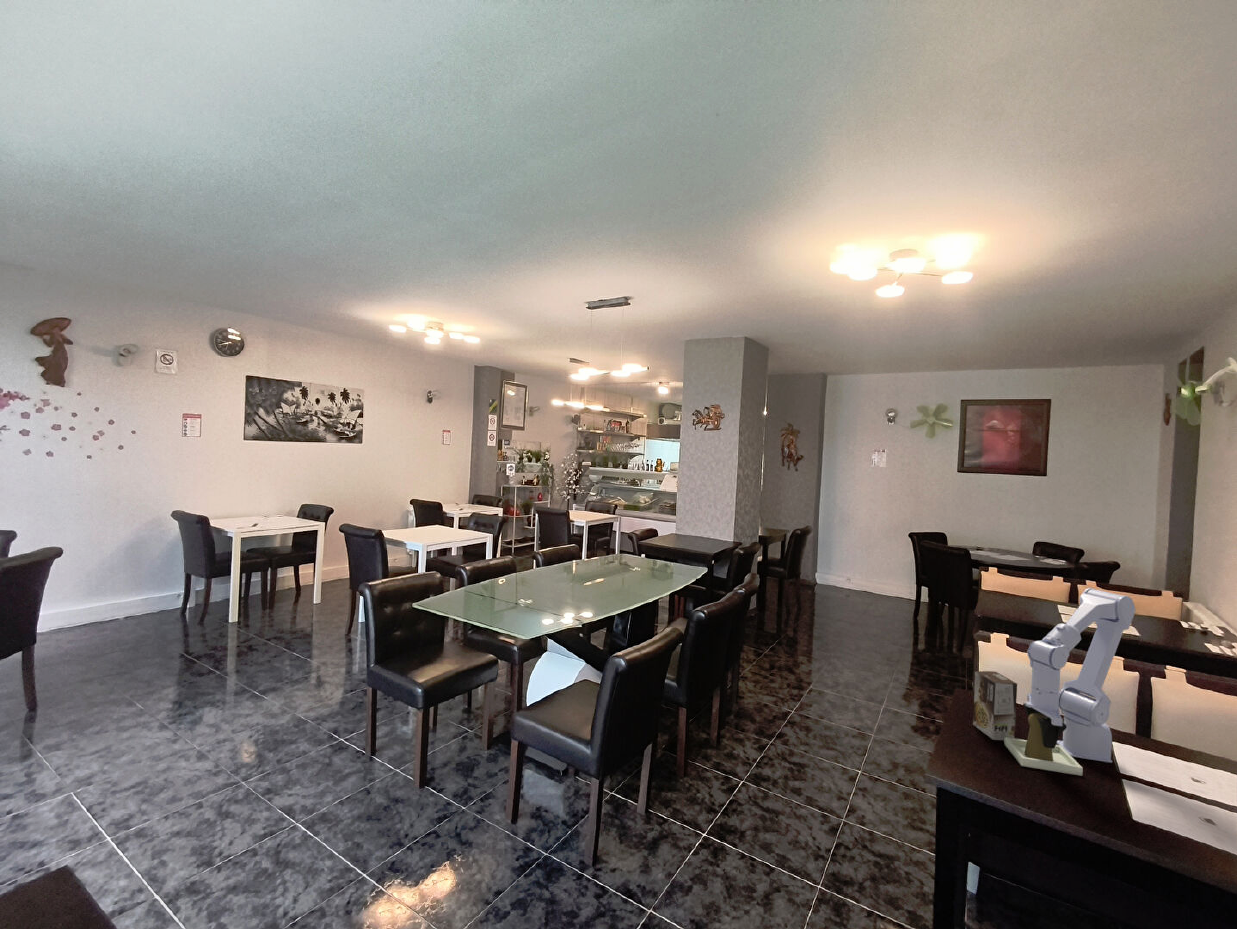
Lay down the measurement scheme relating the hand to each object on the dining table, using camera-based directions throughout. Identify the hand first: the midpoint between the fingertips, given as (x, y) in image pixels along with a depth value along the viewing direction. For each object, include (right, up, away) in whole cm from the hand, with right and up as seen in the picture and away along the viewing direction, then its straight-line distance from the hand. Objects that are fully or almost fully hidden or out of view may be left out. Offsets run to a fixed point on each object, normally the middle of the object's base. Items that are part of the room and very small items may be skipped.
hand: (1042, 740), depth 143 cm
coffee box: (-4, -5, +14) cm, 15 cm away
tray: (0, -5, 0) cm, 5 cm away
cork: (-1, -5, 0) cm, 5 cm away
